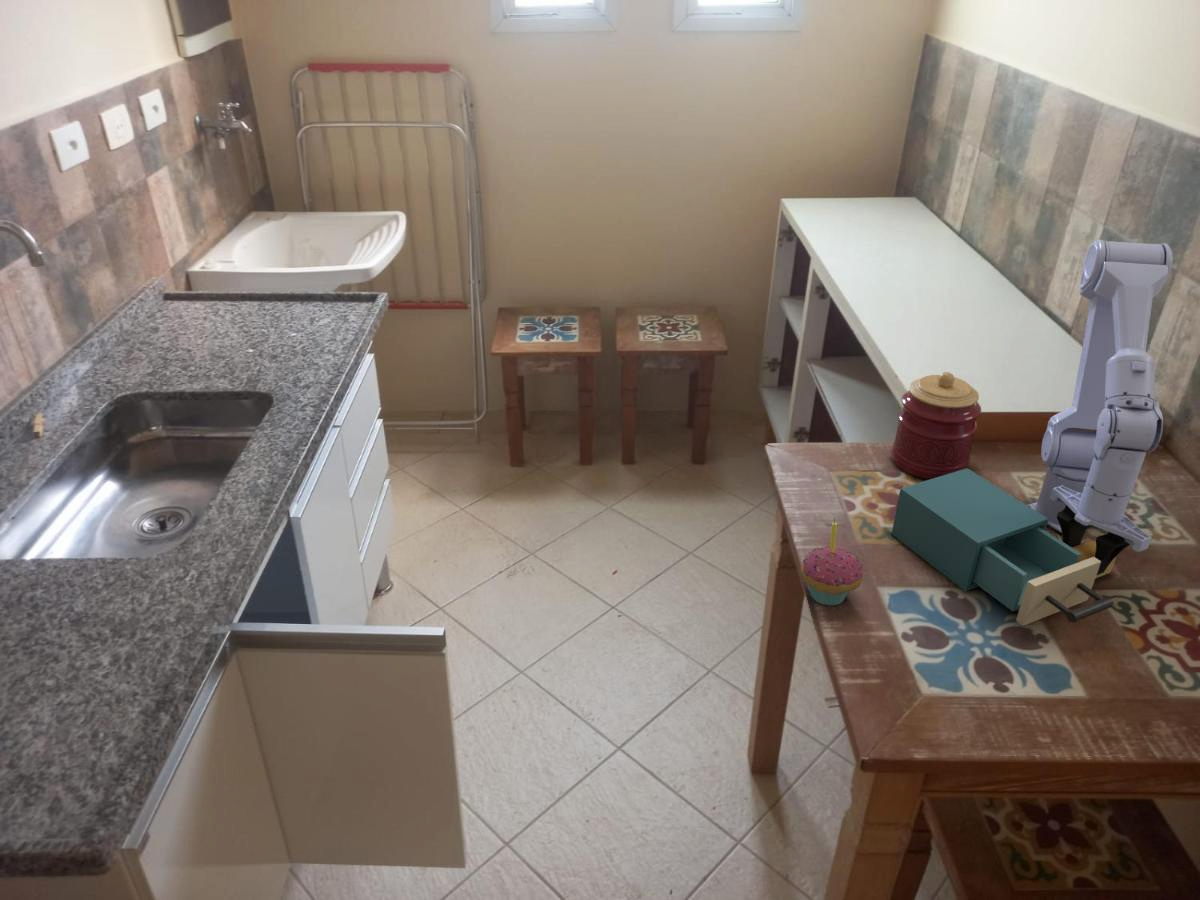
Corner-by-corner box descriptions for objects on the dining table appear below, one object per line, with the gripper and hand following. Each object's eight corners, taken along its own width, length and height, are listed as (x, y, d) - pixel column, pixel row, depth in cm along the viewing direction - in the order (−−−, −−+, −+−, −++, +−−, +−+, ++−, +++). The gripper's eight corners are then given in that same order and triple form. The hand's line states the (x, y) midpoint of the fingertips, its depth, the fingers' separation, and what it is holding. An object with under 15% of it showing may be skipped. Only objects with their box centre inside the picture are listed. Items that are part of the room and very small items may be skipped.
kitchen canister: (956, 489, 149) (978, 397, 140) (881, 468, 155) (897, 378, 146) (975, 456, 158) (996, 367, 149) (903, 437, 164) (919, 351, 155)
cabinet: (1034, 566, 130) (1048, 518, 126) (965, 591, 126) (978, 543, 121) (956, 513, 143) (967, 468, 138) (891, 534, 138) (900, 488, 133)
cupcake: (790, 578, 129) (799, 510, 122) (847, 574, 129) (859, 507, 123) (807, 617, 121) (818, 547, 115) (867, 613, 122) (881, 543, 116)
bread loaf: (1086, 556, 132) (1094, 532, 130) (1110, 572, 129) (1119, 547, 126) (1050, 570, 129) (1057, 545, 127) (1074, 586, 126) (1082, 561, 124)
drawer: (1118, 621, 118) (1133, 582, 115) (1052, 649, 114) (1066, 608, 111) (1006, 544, 134) (1016, 507, 130) (944, 566, 129) (953, 528, 126)
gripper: (1045, 467, 126) (1023, 543, 132) (1136, 519, 114) (1107, 600, 121) (1080, 456, 128) (1056, 532, 135) (1172, 506, 117) (1141, 586, 124)
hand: (1082, 563), depth 128 cm, fingers closed on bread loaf, 4 cm apart
